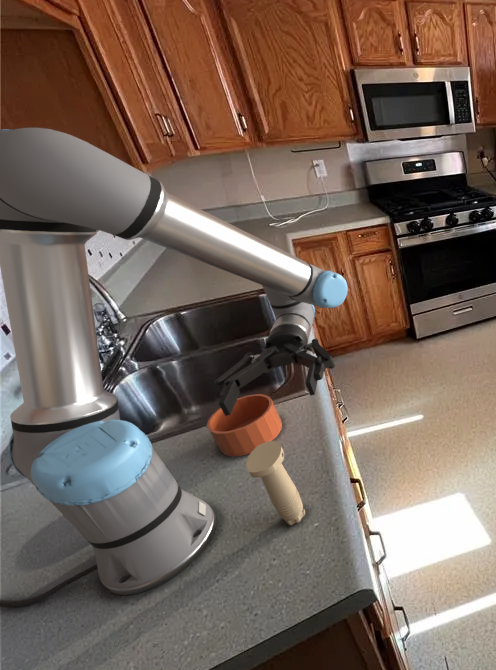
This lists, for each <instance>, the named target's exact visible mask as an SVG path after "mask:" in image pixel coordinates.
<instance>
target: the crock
mask: <svg viewBox="0 0 496 670" xmlns="http://www.w3.org/2000/svg"><path fill="white" fill-rule="evenodd" d="M206 428H207V429H208V432H209V433H210V435H211V436H212V438H213V440H214V442H215V444H216V445H217V447H218V448H219V450H220V452H221V453H222V454H223V455H225V456H228V457H241V456H246V455H250V453H251V452H252V451H253V450H254V449H255V448H256V447H257V446H259V445H260V444H263V443H266V442H269V441H275V440H276V438H277V437H278V435H279V434H280V433H281V431H282V428H283V421H282V419H281V417H280V414H279V412H278V410H277V408H276V406H275V403H274V401H273V399H272V398H271V397H270V396H269V395H267V394H264V393H255V394H249V395H244V396H241V397H238V399H237V401H236V403H235V405H234V408H233V410H232V412H231V414H230V415H227V416H225V414H224V412H223V411H222V409H221V407H219V408H218V409H217V410H215V412H213V413H212V414H211V416H209V418H208V420H207V424H206Z"/></svg>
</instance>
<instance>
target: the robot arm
mask: <svg viewBox="0 0 496 670" xmlns="http://www.w3.org/2000/svg"><path fill="white" fill-rule="evenodd" d="M98 231H100V232H103V233H107V234H110V235H112V236H115V237H118V238H121V239H122V240H126V241H132V240H135V239H139V238H140V239H142V240H145V241H148V242H150V243H153V244H156V245H158V246H160V247H163V248H166V249H168V250H171V251H174V252H176V253H179V254H181V255H184V256H186V257H189V258H191V259H194V260H197V261H198V262H202V263H204V264H207V265H210V266H213V267H215V268H217V269H219V270H222V271H225V272H227V273H229V274H233V275H236V276H238V277H240V278H243V279H246V280H248V281H251V282H254V283H256V284H258V285H261V286H262V289H263V291H264V294H265V295H266V297H267V300H268V302H269V305H270V307H271V310H272V312H273V315H274V317H275V320H274V322H273V324H272V327H271V329H270V331H269V334H268V336H267V339H266V341H265V344H264V350H263V351H261V352H260V353H259V354H253V352H252V351H249V352H246V353H245V355H244V356H243V357H242V359H240V360H239V361H238V362H236V364H234V365H233V366H231V368H229V369H227V371H225V372H224V373H223V374H221V376H219V377H218V378H217V379H215V380H214V381H213V382H214V385H215V386H216V388H217V390H218V392H219V397H220V398H221V399H220V400H219V401H218V405H219V408H221V409H222V411H223V412H224V414H225V416H227V415H230V414H231V412H232V410H233V408H234V405H235V403H236V401H237V399H238V398H239V396H240V394H241V390H240V389H242V388H243V387H245V386H246V385H248V384H249V383H250V382H252V381H253V380H255V379H257V378H258V377H260V376H261V375H263V374H268V373H270V372H272V371H273V370H275V368H280V367H283V366H289V365H292V364H295V365H297V366H304V367H306V368H308V371H307V375H306V379H305V387H306V388H307V390H308V394H309V396H315V395H316V392H317V385H318V381H321V380H323V378H324V373H325V371H326V369H330V370H331V369H334V368H335V367H336V365H335V362H334V359H333V355H331V353H329V352H328V351H327V350H326V348H324V347H323V346H322V345H321V344H320V341H319V339H318V338H313V339H311V342H310V343H309V338H310V334H311V331H312V327H313V324H314V322H315V319H316V318H315V317H316V308H315V307H318V308H320V309H323V308H325V309H335V308H337V307H340V306H341V305H342V304H343V303H344V301H345V300H346V298H347V295H348V291H349V290H348V289H349V288H348V283H347V280H346V279H345V278H344V277H343V276H342V275H341V274H339V273H337V272H333V271H332V270H325V269H322V268H320V267H318V266H316V265H314V264H311V263H309V262H307V261H305V260H304V259H301V258H300V257H297V256H295V255H293V254H291V253H289V252H287V251H285V250H283V249H281V248H279V247H278V246H275V245H274V244H272V243H269V242H267V241H266V240H263V239H261V238H259V237H258V236H255V235H254V234H251V233H249V232H247V231H245V230H243V229H241V228H239V227H237V226H235V225H233V224H231V223H229V222H227V221H225V220H223V219H221V218H219V217H217V216H216V215H213V214H212V213H209V212H207V211H205V210H203V209H201V208H199V207H197V206H196V205H193V204H191V203H189V202H187V201H185V200H183V199H182V198H179V197H177V196H175V195H172V194H171V193H168V192H167V191H166V188H165V187H164V184H163V182H162V181H160V180H158V179H157V178H155V177H153V176H151V175H149V174H147V173H146V172H144V171H141V170H139V169H138V168H135V167H134V166H132V165H130V164H129V163H127V162H125V161H123V160H121V159H119V158H118V157H116V156H113V155H112V154H110V153H108V152H107V151H104V150H102V149H101V148H99V147H97V146H95V145H94V144H91V143H89V142H88V141H86V140H83V139H81V138H79V137H76V136H74V135H72V134H68V133H66V132H62V131H59V130H55V129H51V128H45V127H22V128H14V129H7V128H4V129H0V273H1V280H2V285H3V290H4V296H5V303H6V308H7V314H8V321H9V324H10V331H11V337H12V341H13V349H14V352H15V354H14V355H15V359H16V366H17V372H18V376H19V377H18V378H19V383H20V388H21V393H22V399H23V402H22V403H21V404H20V405H19V406H18V407H17V408H16V409H14V410H13V411H12V412H11V414H10V416H9V417H10V418H9V419H10V424H11V430H12V434H11V435H10V438H9V441H8V445H7V446H8V447H7V448H8V457H9V460H10V462H11V465H12V466H13V468H14V469H15V470H16V471H17V472H18V474H19V475H21V476H22V477H24V478H26V479H27V480H28V481H29V482H30V483H31V484H32V485H33V486H34V487H35V489H36V490H37V492H38V493H39V494H40V495H41V496H42V498H44V499H46V500H47V501H49V502H50V503H51V504H52V505H53V506H54V508H56V509H57V510H58V512H60V513H61V514H62V516H63V517H64V518H65V519H66V520H67V521H68V522H69V523H70V524H71V525H72V526H73V527H74V528H75V529H76V530H77V532H78V533H79V534H80V535H81V536H82V537H83V538H84V539H85V540H86V541H87V543H89V544H90V545H91V546H92V547H93V552H94V557H95V558H94V559H95V563H96V564H94V565H92V566H91V567H88V568H87V569H85V570H82V571H81V572H79V573H77V574H75V575H73V576H71V577H69V578H67V579H66V580H64V581H61V583H59V584H57V585H55V586H54V587H52V588H51V589H49V590H47V591H45V592H44V593H41V594H39V595H37V596H35V597H32V598H29V599H24V600H6V599H5V600H4V599H2V600H1V599H0V607H5V608H18V607H25V606H29V605H32V604H35V603H38V602H40V601H42V600H44V599H47V598H48V597H50V596H52V595H53V594H55V593H57V592H58V591H60V590H62V589H63V588H65V587H66V586H68V585H70V584H72V583H74V582H76V581H78V580H79V579H82V578H83V577H85V576H87V575H89V574H91V573H93V572H95V571H96V570H97V573H98V577H99V580H100V582H101V583H102V585H103V586H104V587H105V588H106V589H108V591H110V592H111V593H113V594H116V595H121V596H126V595H127V596H129V595H136V594H139V593H143V592H146V591H149V590H152V589H154V588H156V587H158V586H160V585H163V584H165V583H166V582H168V581H169V580H172V579H173V578H174V577H176V576H177V575H179V574H180V573H181V572H183V571H184V570H185V569H186V568H188V567H189V566H190V565H191V564H192V563H193V562H194V561H195V560H196V559H197V558H198V557H199V556H200V555H201V554H202V553H203V552H204V551H205V549H206V548H207V546H209V544H210V543H211V540H212V539H213V537H214V535H215V532H216V529H217V524H218V518H217V515H216V513H215V512H214V509H213V508H212V507H211V505H210V504H209V503H207V502H205V501H204V500H202V499H201V498H199V497H197V496H195V495H193V494H191V493H190V492H188V491H185V490H184V489H182V488H181V486H180V485H179V483H178V482H177V481H176V479H175V477H174V476H173V475H172V473H171V471H170V470H169V469H168V467H167V466H166V465H165V463H164V461H163V460H162V459H161V457H160V456H159V454H158V453H157V451H156V450H155V449H154V447H153V445H152V443H151V440H150V439H149V437H148V436H147V434H146V433H145V432H143V431H142V430H141V429H140V428H139V427H138V426H137V425H136V424H134V423H132V422H130V421H127V420H124V419H123V420H122V419H121V415H120V408H119V407H120V406H119V400H118V395H116V394H114V393H111V392H109V391H108V390H105V389H104V383H103V382H104V381H103V375H102V366H101V361H100V360H101V359H100V352H99V344H98V337H97V329H96V321H95V314H94V313H95V312H94V305H93V299H92V292H91V283H90V276H89V275H90V274H89V268H88V260H87V252H86V243H87V242H88V241H89V240H90V239H91V240H92V238H93V237H95V236H97V234H98ZM308 352H310V353H312V354H313V355H312V354H310V353H308ZM314 355H315V356H314Z"/></svg>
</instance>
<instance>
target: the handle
mask: <svg viewBox="0 0 496 670" xmlns="http://www.w3.org/2000/svg"><path fill="white" fill-rule="evenodd" d="M284 459H285V452H284V449H283V447H282V445H281V443H280V442H279V441H278V440H273V441H269V442H266V443H263V444H260V445H259V446H257V447H256V448H255V449H254V450H253V451H252V452H251V453H250V454H248V457H247V459H246V463H245V467H246V470H247V472H249V475H250V477H252V478H255V479H257V478H261V479H260V480H261V481H262V483H263V485H264V487H265V490H266V492H267V495H268V498H269V499H270V501H271V503H272V505H273V507H274V509H275V511H276V512H277V514H278V515H279V516H280V517H281V518H282V519H283V520H284V521H285V522H286V524H287V525H288V526H293V525H295V524H299V523H300V522H301V521H302V519H303V517H305V515H306V510H305V508H304V505H303V501H302V498H301V496H300V495H301V494H300V493H299V491H298V489H297V487H296V485H295V483H294V482H293V480H292V478H291V477H290V475H289V474H288V472H287V470H286V468H285V467H284V465H283V464H282V463H283V462H284Z"/></svg>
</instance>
